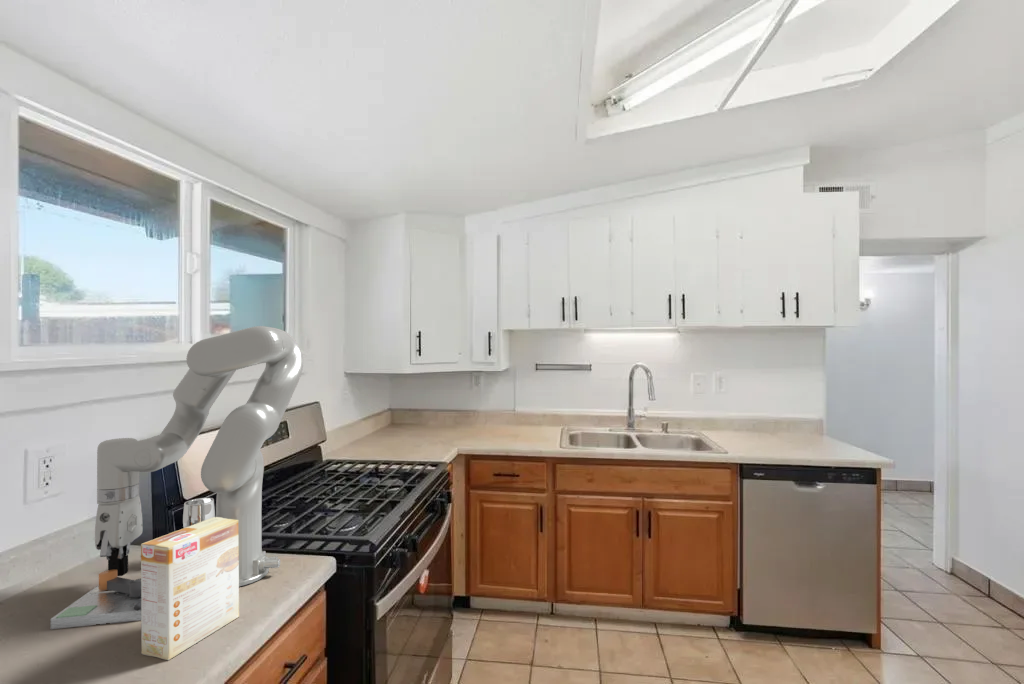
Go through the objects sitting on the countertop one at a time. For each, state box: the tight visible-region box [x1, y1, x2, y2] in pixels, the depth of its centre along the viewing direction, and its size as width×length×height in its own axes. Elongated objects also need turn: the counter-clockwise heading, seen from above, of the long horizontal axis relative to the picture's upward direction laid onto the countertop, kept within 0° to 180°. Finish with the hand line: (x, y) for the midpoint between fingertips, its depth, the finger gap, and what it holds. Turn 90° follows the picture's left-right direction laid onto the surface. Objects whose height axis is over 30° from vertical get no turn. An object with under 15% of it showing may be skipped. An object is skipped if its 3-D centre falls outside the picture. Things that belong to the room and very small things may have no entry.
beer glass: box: [182, 497, 216, 528], centre depth 128 cm, size 7×7×15 cm
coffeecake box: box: [140, 516, 240, 661], centre depth 93 cm, size 15×7×20 cm, turn 162°
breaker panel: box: [50, 585, 141, 630], centre depth 104 cm, size 16×14×2 cm
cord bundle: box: [134, 601, 141, 611], centre depth 105 cm, size 4×17×3 cm, turn 10°
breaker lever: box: [98, 569, 141, 597], centre depth 106 cm, size 13×4×3 cm, turn 71°
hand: (118, 574), depth 112 cm, fingers closed
